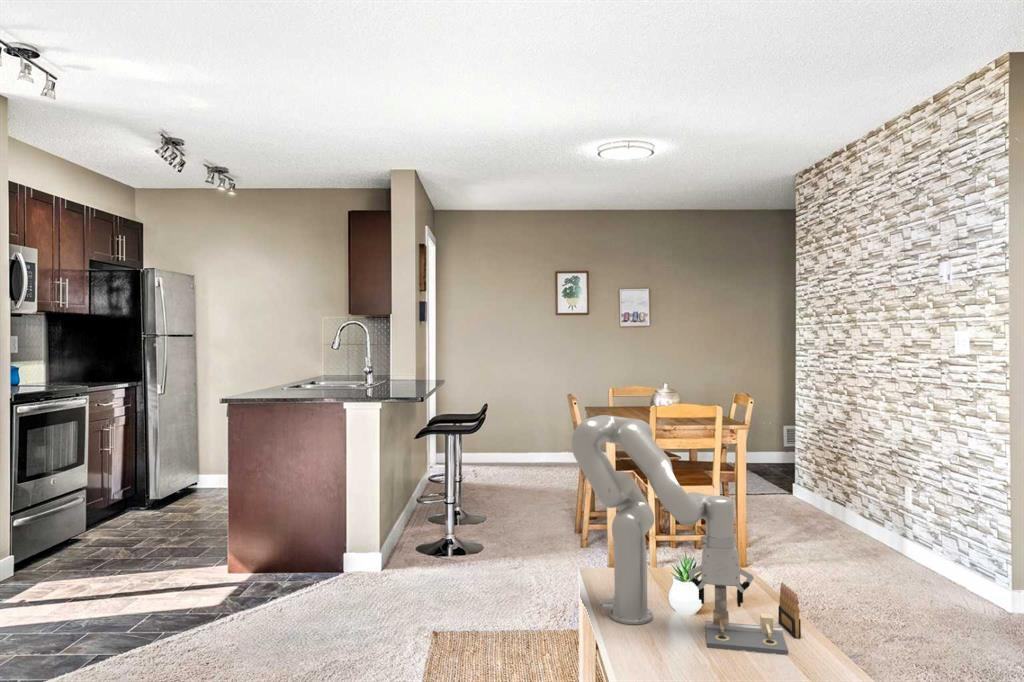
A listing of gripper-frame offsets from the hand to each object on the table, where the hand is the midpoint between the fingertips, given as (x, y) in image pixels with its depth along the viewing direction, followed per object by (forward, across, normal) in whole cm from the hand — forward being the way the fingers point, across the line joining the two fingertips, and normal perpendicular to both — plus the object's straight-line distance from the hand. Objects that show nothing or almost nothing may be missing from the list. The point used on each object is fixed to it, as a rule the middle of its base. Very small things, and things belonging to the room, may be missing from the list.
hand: (720, 603), depth 191 cm
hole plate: (+8, +6, -4) cm, 10 cm away
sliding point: (+6, 0, -3) cm, 7 cm away
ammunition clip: (+8, +18, +6) cm, 21 cm away
